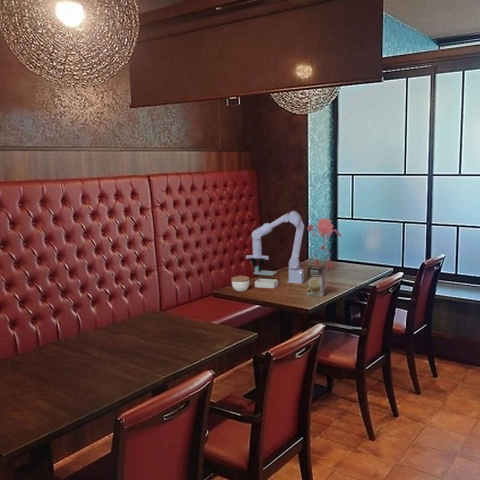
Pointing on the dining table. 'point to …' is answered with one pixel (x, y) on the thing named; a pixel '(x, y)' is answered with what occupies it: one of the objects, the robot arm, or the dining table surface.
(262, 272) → the lid
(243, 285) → the lidded jar
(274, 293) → the dining table surface
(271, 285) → the tub
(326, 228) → the red flower sprig
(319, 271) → the coffee box
